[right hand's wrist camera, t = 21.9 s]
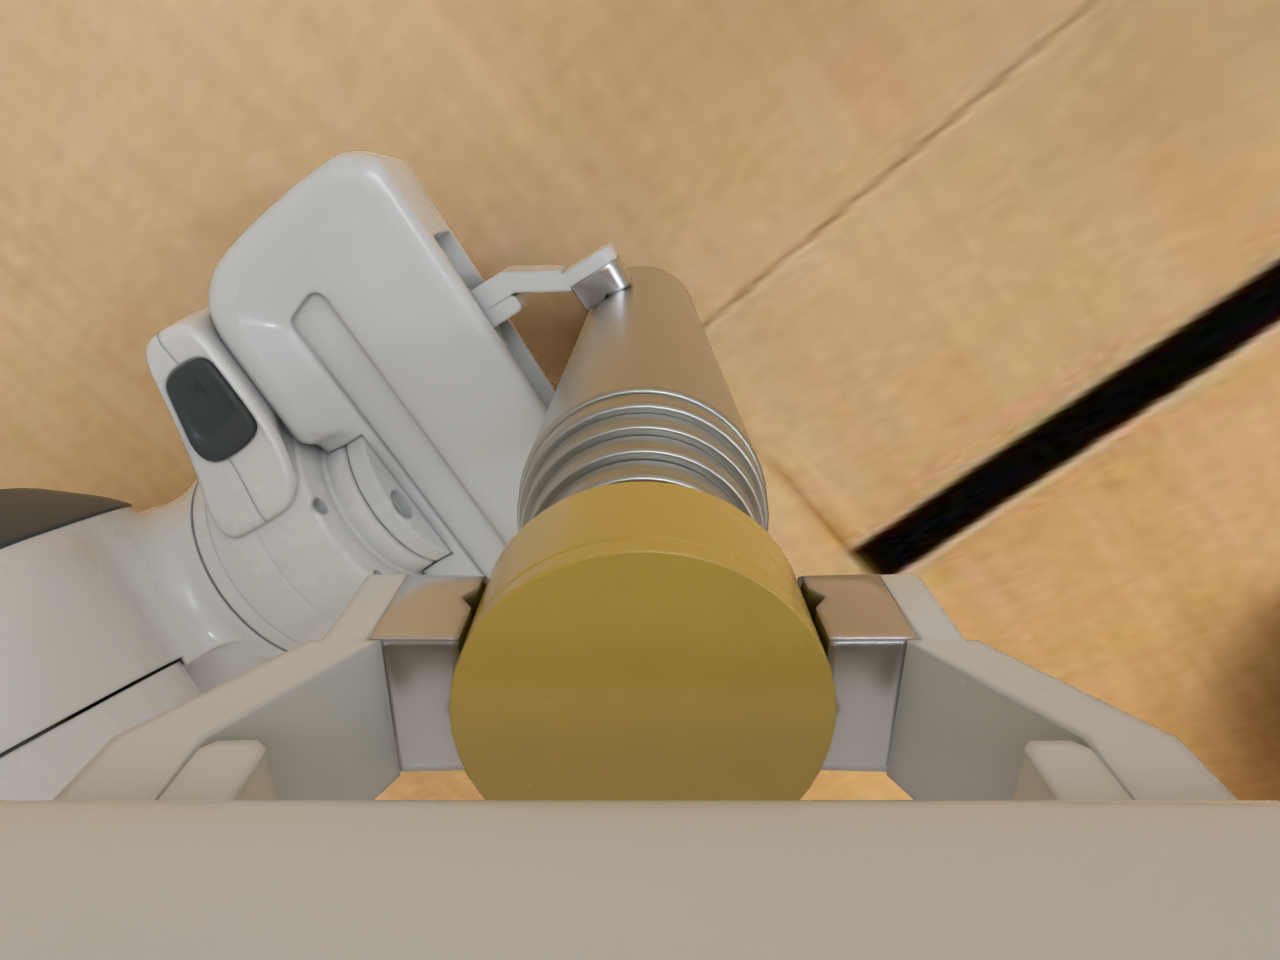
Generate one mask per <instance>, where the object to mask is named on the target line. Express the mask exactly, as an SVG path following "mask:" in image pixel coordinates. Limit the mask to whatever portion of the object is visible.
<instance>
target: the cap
mask: <svg viewBox="0 0 1280 960" xmlns="http://www.w3.org/2000/svg"><path fill="white" fill-rule="evenodd" d="M836 711H837V705H836V689H835V684H834V679H833V675H832V670H831V666H830V664H829V661H828V659H827V656H826V654H825V651H824V649H823V646H822V643H821V641H820V638H819V636H818V633H817V631H816V628H815V626H814V623H813V620H812V618H811V615H810V613H809V610H808V608H807V605H806V603H805V600H804V598H803V595H802V592H801V590H800V587H799V585H798V582H797V580H796V577H795V575H794V572H793V570H792V567H791V565H790V563H789V562H788V560H787V558H786V557H785V555H784V553H783V552H782V550H781V548H780V547H779V546H778V545H777V543H776V542H775V541H774V540H773V538H772V537H771V536H770V535H769V533H768V532H766V531H765V530H764V529H763V528H762V527H761V526H760V525H759V524H758V523H757V522H756V521H755V520H754V519H752V518H751V517H749V516H748V515H747V514H745V513H744V512H742V511H741V510H740V509H738V508H737V507H735V506H733V505H731V504H729V503H728V502H726V501H724V500H722V499H720V498H718V497H716V496H713V495H710V494H708V493H705V492H702V491H700V490H697V489H693V488H689V487H685V486H681V485H676V484H670V483H661V482H624V483H616V484H609V485H604V486H600V487H596V488H592V489H589V490H585V491H582V492H580V493H577V494H575V495H572V496H570V497H567V498H565V499H563V500H561V501H559V502H557V503H556V504H554V505H552V506H550V507H549V508H547V509H545V510H544V511H542V512H541V513H540V514H538V515H537V516H536V517H534V518H533V519H532V520H530V521H529V522H528V523H527V524H526V525H525V526H524V527H523V528H522V529H521V530H520V531H519V532H518V533H517V534H516V535H515V536H514V537H513V538H512V539H511V541H510V542H509V543H508V545H507V546H506V547H505V549H504V550H503V551H502V553H501V554H500V556H499V558H498V560H497V562H496V564H495V565H494V567H493V569H492V571H491V574H490V577H489V579H488V582H487V585H486V587H485V590H484V593H483V595H482V598H481V600H480V603H479V606H478V608H477V611H476V614H475V616H474V619H473V622H472V624H471V627H470V629H469V632H468V635H467V637H466V640H465V643H464V645H463V648H462V651H461V653H460V656H459V659H458V661H457V664H456V667H455V670H454V673H453V678H452V683H451V689H450V701H449V716H450V724H451V731H452V736H453V739H454V743H455V746H456V750H457V753H458V756H459V758H460V760H461V762H462V764H463V767H464V769H465V771H466V773H467V775H468V776H469V778H470V779H471V781H472V782H473V784H474V785H475V787H476V788H477V790H478V791H479V793H480V794H481V795H482V796H483V797H484V798H485V799H486V800H800V799H801V798H802V796H803V795H804V794H805V793H806V792H807V790H808V789H809V788H810V787H811V785H812V783H813V782H814V780H815V778H816V777H817V775H818V773H819V772H820V770H821V768H822V766H823V764H824V761H825V759H826V757H827V754H828V752H829V749H830V745H831V741H832V738H833V734H834V730H835V721H836Z"/></svg>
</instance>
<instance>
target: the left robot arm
mask: <svg viewBox="0 0 1280 960" xmlns="http://www.w3.org/2000/svg"><path fill="white" fill-rule="evenodd" d="M631 280H632V278H631V276H630V274H629V273H628V271H627V269H626V267H625V266H624V264H623V262H622V260H621V258H620V257H619V255H618V253H617V251H616V250H615V248H614V246H613V245H612V243H611V242H609V243H607V244H605V245H603V246H601V247H600V248H598V249H597V250H595V251H593V252H592V253H590V254H589V255H587V256H585V257H584V258H582V259H581V260H579V261H577V262H576V263H574V264H573V265H571V266H569V267H568V268H567V267H566V265H510V266H508V267H507V268H505V269H504V270H502V271H501V272H499V273H497V274H496V275H494V276H493V277H491V278H490V279H488V280H486V281H484V280H483V278H482V276H481V275H480V273H479V272H478V270H477V269H476V267H475V266H474V264H473V263H472V261H471V260H470V258H469V257H468V255H467V253H466V252H465V250H464V249H463V247H462V246H461V244H460V243H459V241H458V240H457V238H456V237H455V235H454V234H453V232H452V230H451V229H450V227H449V226H448V224H447V223H446V221H445V220H444V218H443V217H442V215H441V214H440V212H439V211H438V209H437V208H436V206H435V204H434V203H433V201H432V200H431V198H430V197H429V195H428V194H427V192H426V191H425V189H424V188H423V186H422V184H421V183H420V181H419V180H418V178H417V177H416V175H415V174H414V172H413V171H412V169H411V168H410V166H409V165H408V164H407V163H406V162H404V161H403V160H401V159H399V158H395V157H391V156H387V155H384V154H380V153H375V152H370V151H349V152H344V153H342V154H339V155H336V156H335V157H333V158H331V159H329V160H328V161H326V162H325V163H323V164H322V165H320V166H319V167H318V168H316V169H315V170H314V171H312V172H311V173H310V174H308V175H307V176H306V177H305V178H303V179H302V180H301V181H300V182H298V183H297V184H296V185H295V186H293V187H292V188H291V189H290V190H289V191H288V192H286V193H285V194H284V195H283V196H282V197H281V198H279V199H278V200H277V201H276V202H275V203H274V204H273V205H272V206H271V207H269V208H268V209H267V210H266V211H265V212H264V213H263V214H262V215H261V216H260V217H259V218H258V219H257V220H256V221H255V222H254V223H253V224H252V225H251V226H250V227H249V228H248V229H247V230H246V231H245V232H244V233H243V234H242V235H241V236H240V237H239V238H238V239H237V240H236V241H235V242H234V243H233V244H232V246H231V247H230V248H229V249H228V250H227V252H226V253H225V254H224V255H223V257H222V258H221V260H220V261H219V263H218V265H217V267H216V268H215V270H214V273H213V275H212V278H211V282H210V286H209V294H208V302H209V306H208V307H206V308H203V309H200V310H198V311H196V312H194V313H192V314H190V315H188V316H186V317H184V318H182V319H180V320H178V321H177V322H175V323H173V324H172V325H170V326H168V327H167V328H165V329H164V330H162V331H161V332H159V333H158V334H156V335H155V336H154V337H153V338H152V339H151V340H150V342H149V343H148V345H147V348H146V359H147V364H148V367H149V369H150V372H151V374H152V376H153V379H154V381H155V383H156V385H157V387H158V389H159V391H160V393H161V396H162V398H163V400H164V402H165V404H166V406H167V408H168V410H169V412H170V414H171V417H172V419H173V421H174V423H175V425H176V428H177V430H178V432H179V434H180V436H181V439H182V441H183V443H184V446H185V448H186V451H187V453H188V455H189V458H190V460H191V463H192V465H193V468H194V471H195V473H196V476H197V480H196V481H195V482H194V484H193V485H192V486H191V487H190V488H189V489H188V490H187V491H186V492H185V493H184V494H183V495H181V496H180V497H178V498H177V499H175V500H173V501H172V502H170V503H168V504H164V505H159V506H155V507H152V508H149V509H146V510H144V511H142V512H137V511H135V510H133V509H132V505H131V504H129V503H126V502H122V501H119V500H115V499H111V498H106V497H100V496H94V495H87V494H79V493H70V492H62V491H54V490H46V489H32V488H17V489H1V490H0V800H53V799H54V798H55V797H56V796H57V795H58V794H59V793H60V792H61V791H62V790H63V789H64V788H65V786H66V785H67V784H68V783H69V782H70V781H71V780H72V779H73V778H74V777H75V776H76V775H77V774H78V773H79V772H80V771H81V770H82V769H83V768H84V767H85V766H86V764H87V763H88V762H89V761H90V760H91V759H92V758H93V757H94V756H95V755H96V754H97V753H98V752H99V751H100V750H101V749H102V748H103V747H104V746H105V745H106V743H107V742H108V741H109V740H110V739H111V738H112V737H114V736H116V735H118V734H120V733H122V732H124V731H126V730H128V729H130V728H132V727H134V726H136V725H138V724H140V723H142V722H145V721H147V720H149V719H151V718H153V717H155V716H157V715H159V714H161V713H163V712H165V711H167V710H169V709H171V708H173V707H175V706H177V705H179V704H181V703H183V702H185V701H187V700H189V699H191V698H193V697H195V696H197V695H199V694H201V693H203V692H206V691H208V690H210V689H212V688H214V687H216V686H218V685H220V684H222V683H224V682H226V681H228V680H230V679H232V678H234V677H236V676H238V675H240V674H242V673H244V672H246V671H248V670H250V669H252V668H254V667H256V666H258V665H260V664H262V663H265V662H267V661H269V660H271V659H273V658H275V657H277V656H279V655H281V654H283V653H285V652H287V651H289V650H291V649H293V648H295V647H297V646H299V645H301V644H303V643H305V642H307V641H309V640H323V638H324V637H325V635H326V634H327V632H328V631H329V630H330V628H331V627H332V625H333V624H334V622H335V621H336V620H337V618H338V617H339V615H340V614H341V612H342V611H343V610H344V608H345V607H346V605H347V604H348V602H349V601H350V600H351V598H352V597H353V595H354V594H355V592H356V591H357V590H358V588H359V587H360V585H361V584H362V582H363V581H364V580H365V578H366V577H367V576H368V575H377V574H409V575H466V576H487V578H488V579H489V577H490V574H491V571H492V569H493V567H494V565H495V564H496V562H497V560H498V558H499V556H500V554H501V553H502V551H503V550H504V549H505V547H506V546H507V545H508V543H509V542H510V541H511V539H512V538H513V537H514V536H515V535H516V534H517V533H518V526H517V506H518V499H519V487H520V482H521V477H522V472H523V469H524V467H525V464H526V461H527V458H528V456H529V453H530V451H531V449H532V446H533V444H534V442H535V439H536V437H537V434H538V432H539V430H540V427H541V425H542V422H543V420H544V418H545V415H546V413H547V410H548V408H549V406H550V403H551V401H552V398H553V396H554V394H555V391H556V390H555V388H554V387H553V385H552V384H551V382H550V381H549V379H548V378H547V376H546V375H545V373H544V372H543V370H542V368H541V367H540V365H539V364H538V362H537V361H536V359H535V358H534V356H533V355H532V353H531V352H530V350H529V349H528V347H527V345H526V344H525V342H524V341H523V339H522V338H521V336H520V335H519V333H518V332H517V330H516V329H515V327H514V326H513V324H512V322H511V321H510V319H509V318H510V317H511V316H513V315H515V314H516V313H518V312H519V311H521V310H522V308H523V307H524V306H525V305H526V304H527V303H528V302H529V298H530V297H529V295H528V294H527V293H531V292H566V291H574V293H575V294H576V296H577V297H578V299H579V300H580V302H581V304H582V305H583V307H584V308H585V310H586V311H588V310H590V309H592V308H593V307H595V306H597V305H598V304H599V303H600V302H602V301H603V300H604V299H605V296H606V294H614V293H617V292H619V291H621V290H623V289H624V288H626V287H627V286H629V285H630V284H631V283H632V281H631Z"/></svg>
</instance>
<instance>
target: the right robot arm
mask: <svg viewBox="0 0 1280 960" xmlns="http://www.w3.org/2000/svg"><path fill="white" fill-rule="evenodd" d="M487 582H488V578H487V576H466V575H409V574H377V575H368V576H367V577H366V578H365V580H364V581H363V582H362V584H361V585H360V587H359V588H358V590H357V591H356V592H355V594H354V595H353V597H352V598H351V600H350V601H349V602H348V604H347V605H346V607H345V608H344V610H343V611H342V612H341V614H340V615H339V617H338V618H337V620H336V621H335V622H334V624H333V625H332V627H331V628H330V630H329V631H328V632H327V634H326V635H325V637H324V638H323V640H309V641H307V642H305V643H303V644H301V645H299V646H297V647H295V648H293V649H291V650H289V651H287V652H285V653H283V654H281V655H279V656H277V657H275V658H273V659H271V660H269V661H267V662H265V663H262V664H260V665H258V666H256V667H254V668H252V669H250V670H248V671H246V672H244V673H242V674H240V675H238V676H236V677H234V678H232V679H230V680H228V681H226V682H224V683H222V684H220V685H218V686H216V687H214V688H212V689H210V690H208V691H206V692H203V693H201V694H199V695H197V696H195V697H193V698H191V699H189V700H187V701H185V702H183V703H181V704H179V705H177V706H175V707H173V708H171V709H169V710H167V711H165V712H163V713H161V714H159V715H157V716H155V717H153V718H151V719H149V720H147V721H145V722H142V723H140V724H138V725H136V726H134V727H132V728H130V729H128V730H126V731H124V732H122V733H120V734H118V735H116V736H114V737H112V738H111V739H110V740H109V741H108V742H107V743H106V745H105V746H104V747H103V748H102V749H101V750H100V751H99V752H98V753H97V754H96V755H95V756H94V757H93V758H92V759H91V760H90V761H89V762H88V763H87V764H86V766H85V767H84V768H83V769H82V770H81V771H80V772H79V773H78V774H77V775H76V776H75V777H74V778H73V779H72V780H71V781H70V782H69V783H68V784H67V785H66V786H65V788H64V789H63V790H62V791H61V792H60V793H59V794H58V795H57V796H56V797H55V798H54V799H53V800H0V960H1280V800H1238V799H1237V798H1236V797H1235V796H1234V795H1233V794H1232V793H1231V792H1230V791H1229V790H1228V789H1227V788H1226V787H1225V786H1224V785H1223V784H1222V783H1221V782H1220V781H1219V780H1218V779H1217V778H1216V777H1215V776H1214V775H1213V773H1212V772H1211V771H1210V770H1209V769H1208V768H1207V767H1206V766H1205V765H1204V764H1203V763H1202V762H1201V761H1200V760H1199V759H1198V758H1197V757H1196V756H1195V755H1194V754H1193V753H1192V752H1191V751H1190V750H1189V749H1188V748H1187V747H1186V746H1185V744H1184V743H1183V742H1182V741H1181V740H1180V739H1179V738H1177V737H1175V736H1173V735H1171V734H1169V733H1167V732H1165V731H1162V730H1160V729H1158V728H1156V727H1154V726H1152V725H1150V724H1148V723H1146V722H1144V721H1142V720H1140V719H1138V718H1136V717H1134V716H1132V715H1130V714H1128V713H1126V712H1124V711H1122V710H1120V709H1117V708H1115V707H1113V706H1111V705H1109V704H1107V703H1105V702H1103V701H1101V700H1099V699H1097V698H1095V697H1093V696H1091V695H1089V694H1087V693H1085V692H1083V691H1081V690H1079V689H1077V688H1075V687H1072V686H1070V685H1068V684H1066V683H1064V682H1062V681H1060V680H1058V679H1056V678H1054V677H1052V676H1050V675H1048V674H1046V673H1044V672H1042V671H1040V670H1038V669H1036V668H1034V667H1032V666H1029V665H1027V664H1025V663H1023V662H1021V661H1019V660H1017V659H1015V658H1013V657H1011V656H1009V655H1007V654H1005V653H1003V652H1001V651H999V650H997V649H995V648H993V647H991V646H989V645H987V644H984V643H982V642H980V641H978V640H965V639H964V637H963V636H962V635H961V633H960V632H959V631H958V629H957V628H956V626H955V625H954V624H953V622H952V621H951V620H950V618H949V617H948V615H947V614H946V613H945V611H944V610H943V608H942V607H941V606H940V604H939V603H938V602H937V600H936V599H935V597H934V596H933V595H932V593H931V592H930V591H929V589H928V588H927V586H926V585H925V584H924V582H923V581H922V579H921V578H920V577H919V576H917V575H915V574H913V573H912V574H890V575H878V574H868V575H826V576H802V577H799V578H798V580H797V582H798V585H799V587H800V590H801V592H802V595H803V598H804V600H805V603H806V605H807V608H808V610H809V613H810V615H811V618H812V620H813V623H814V626H815V628H816V631H817V633H818V636H819V638H820V641H821V643H822V646H823V649H824V651H825V654H826V656H827V659H828V661H829V664H830V666H831V670H832V675H833V679H834V684H835V689H836V705H837V711H836V721H835V730H834V734H833V738H832V741H831V745H830V749H829V752H828V754H827V757H826V759H825V761H824V764H823V766H822V768H821V770H843V771H881V772H887V776H889V777H890V778H891V779H892V780H893V781H894V782H895V783H896V784H897V785H898V786H900V787H901V788H902V789H903V790H904V791H905V792H906V793H907V794H908V795H909V796H911V797H912V798H913V799H914V800H374V799H375V798H376V797H377V796H378V795H379V794H380V793H381V792H383V791H384V790H385V789H386V788H387V787H388V786H389V785H390V784H391V783H392V782H393V781H395V780H396V779H397V778H398V777H399V776H400V772H406V771H442V770H465V769H464V767H463V764H462V762H461V760H460V758H459V756H458V753H457V750H456V746H455V743H454V739H453V736H452V731H451V724H450V716H449V701H450V689H451V683H452V678H453V673H454V670H455V667H456V664H457V661H458V659H459V656H460V653H461V651H462V648H463V645H464V643H465V640H466V637H467V635H468V632H469V629H470V627H471V624H472V622H473V619H474V616H475V614H476V611H477V608H478V606H479V603H480V600H481V598H482V595H483V593H484V590H485V587H486V585H487Z"/></svg>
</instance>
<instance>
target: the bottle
mask: <svg viewBox="0 0 1280 960" xmlns="http://www.w3.org/2000/svg"><path fill="white" fill-rule="evenodd" d="M627 271H628V273H629V274H630V276H631V278H632V280H631V281H632V283H631V284H630V285H629V286H627V287H626V288H624V289H623V290H621V291H619V292H617V293H614V294H606V296H605V299H604V300H603V301H602V302H600V303H599V304H598V305H597V306H595V307H593V308H592V309H590V310H589V312H588V315H587V317H586V320H585V322H584V324H583V327H582V329H581V332H580V334H579V336H578V339H577V341H576V343H575V346H574V348H573V351H572V353H571V355H570V358H569V360H568V363H567V365H566V367H565V370H564V372H563V375H562V377H561V379H560V382H559V384H558V387H557V389H556V391H555V394H554V396H553V398H552V401H551V403H550V406H549V408H548V410H547V413H546V415H545V418H544V420H543V422H542V425H541V427H540V430H539V432H538V434H537V437H536V439H535V442H534V444H533V446H532V449H531V451H530V453H529V456H528V458H527V461H526V464H525V467H524V469H523V472H522V477H521V482H520V487H519V499H518V506H517V526H518V532H519V531H520V530H521V529H522V528H523V527H524V526H525V525H526V524H527V523H528V522H529V521H530V520H532V519H533V518H534V517H536V516H537V515H538V514H540V513H541V512H542V511H544V510H545V509H547V508H549V507H550V506H552V505H554V504H556V503H557V502H559V501H561V500H563V499H565V498H567V497H570V496H572V495H575V494H577V493H580V492H582V491H585V490H589V489H592V488H596V487H600V486H604V485H609V484H616V483H624V482H661V483H670V484H676V485H681V486H685V487H689V488H693V489H697V490H700V491H702V492H705V493H708V494H710V495H713V496H716V497H718V498H720V499H722V500H724V501H726V502H728V503H729V504H731V505H733V506H735V507H737V508H738V509H740V510H741V511H742V512H744V513H745V514H747V515H748V516H749V517H751V518H752V519H754V520H755V521H756V522H757V523H758V524H759V525H760V526H761V527H762V528H763V529H764V530H765V531H766V532H767V531H768V517H769V513H768V502H767V494H766V484H765V479H764V475H763V471H762V468H761V465H760V463H759V460H758V458H757V455H756V453H755V450H754V448H753V446H752V443H751V441H750V439H749V436H748V434H747V431H746V429H745V427H744V424H743V422H742V419H741V417H740V415H739V412H738V410H737V408H736V405H735V403H734V400H733V398H732V396H731V393H730V391H729V388H728V386H727V384H726V381H725V379H724V377H723V374H722V372H721V369H720V367H719V365H718V362H717V360H716V357H715V355H714V353H713V350H712V348H711V346H710V343H709V341H708V338H707V336H706V334H705V331H704V329H703V326H702V324H701V322H700V319H699V317H698V315H697V312H696V310H695V307H694V305H693V303H692V300H691V298H690V296H689V294H688V292H687V291H686V289H685V288H684V287H683V285H682V284H681V283H680V282H679V281H678V280H677V279H675V278H674V277H673V276H671V275H670V274H668V273H666V272H664V271H661V270H659V269H655V268H650V267H635V268H630V269H627Z"/></svg>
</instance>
